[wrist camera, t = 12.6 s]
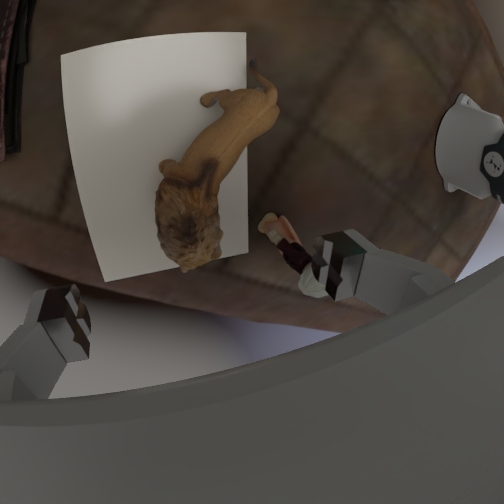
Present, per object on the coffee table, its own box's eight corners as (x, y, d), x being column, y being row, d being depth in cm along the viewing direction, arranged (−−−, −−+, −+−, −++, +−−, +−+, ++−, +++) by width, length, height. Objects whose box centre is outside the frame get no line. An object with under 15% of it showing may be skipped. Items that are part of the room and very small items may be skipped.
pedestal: (225, 42, 22) (245, 32, 18) (230, 225, 33) (248, 252, 29) (77, 61, 18) (60, 55, 14) (108, 249, 29) (105, 282, 25)
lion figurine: (195, 226, 25) (223, 291, 18) (137, 208, 22) (140, 271, 15) (277, 74, 20) (346, 75, 13) (220, 42, 18) (269, 18, 10)
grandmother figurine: (300, 227, 37) (361, 286, 27) (282, 250, 38) (335, 315, 28) (257, 197, 33) (316, 256, 23) (237, 223, 34) (285, 293, 24)
